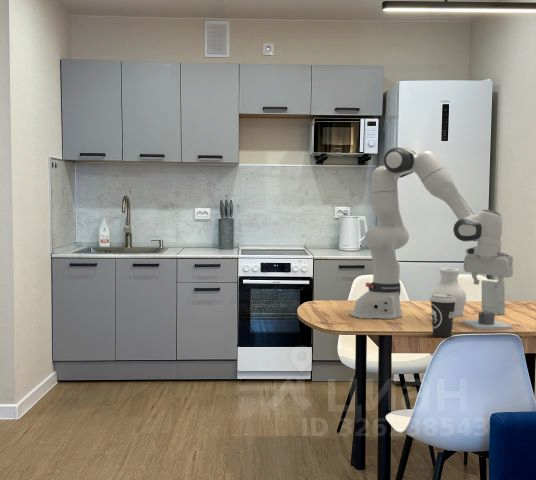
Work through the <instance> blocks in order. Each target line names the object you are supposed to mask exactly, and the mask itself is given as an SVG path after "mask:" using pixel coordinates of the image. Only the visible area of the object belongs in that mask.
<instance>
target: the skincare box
mask: <svg viewBox="0 0 536 480" xmlns="http://www.w3.org/2000/svg"><path fill="white" fill-rule="evenodd" d="M498 280H499V279H490V278H489V279H488V278H487V279H482V280H481V312H483V311H484V310H488V311H490V313H494V314H495V316H498V315H505V313H506V310H505V309H506V305H505V302H506V301H505V296H506V295H505V294H506V293H505V280H503V281H502V282H501V285H500V288H495V283H497V282H498Z"/></svg>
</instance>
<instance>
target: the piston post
mask: <svg viewBox="0 0 536 480" xmlns="http://www.w3.org/2000/svg"><path fill="white" fill-rule="evenodd" d="M483 314H490V311H488V310H484V311H483ZM461 323H462V324H464V325H467V326H469V327H471V328H474V330H475V329H476V330H478V331H479V330H480V331H482V330H487V331H488V330H513V326H512V325H510V324H507V323H504V322H501V321H499V320H497V319H494V324H493V325H484V324H479V323H478V319H466V320H465V319H462V320H461Z"/></svg>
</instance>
